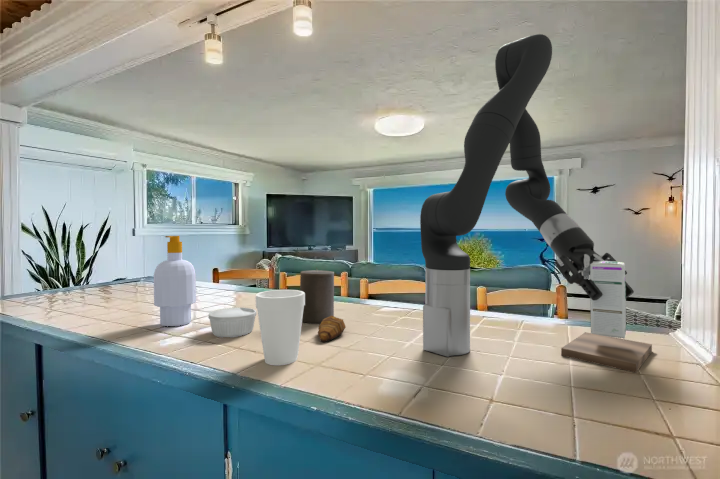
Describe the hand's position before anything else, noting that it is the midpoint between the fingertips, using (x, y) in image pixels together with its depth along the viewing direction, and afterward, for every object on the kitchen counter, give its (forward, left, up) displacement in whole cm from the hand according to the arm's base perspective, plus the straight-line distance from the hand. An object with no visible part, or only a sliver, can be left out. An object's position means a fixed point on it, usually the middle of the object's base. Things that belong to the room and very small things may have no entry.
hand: (614, 296), depth 71 cm
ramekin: (-49, +69, -12) cm, 85 cm away
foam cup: (-50, +44, -12) cm, 67 cm away
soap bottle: (-57, +88, -12) cm, 105 cm away
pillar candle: (-26, +65, -12) cm, 71 cm away
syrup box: (+1, +1, -8) cm, 8 cm away
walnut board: (0, +1, -12) cm, 12 cm away
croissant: (-32, +51, -12) cm, 61 cm away
